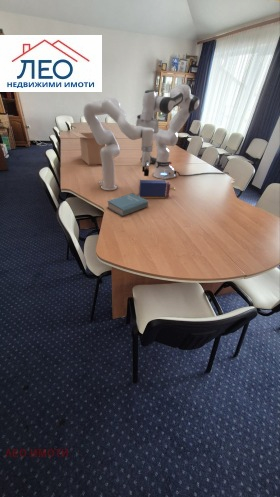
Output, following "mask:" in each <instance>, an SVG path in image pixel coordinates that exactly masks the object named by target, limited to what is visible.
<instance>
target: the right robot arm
mask: <svg viewBox="0 0 280 497" xmlns="http://www.w3.org/2000/svg"><path fill="white" fill-rule="evenodd" d="M200 102H201V100H200V98H199V97H198V96H197V95H195V94H192V93H191V87H190V86H189V84H187V83H184V84H178V85H176V86H174V87H172V88H171V89H170V91H169V96H161V95H158V94H157V93H156V90H155V89H146V90H145V91H144V92H143V96H142V111H141V113H140V114H137V115H136V122H135V125H136V126H142V127H145V128H153V130H154V135H153V142H154V143H155V147H156V158H157V159H156V164H154V171H153V175H152V176H153V177H154V178H156V179H162V180H169V179H173V178H177V175H176V174H178V176H179V177H192V176H199V175H209V174H211V175H212V174H213V175H214V174H215V175H216V174H218V175H224V174H227V175H230V173H229V172H227V171H225V172H202V173H194V174H181V173H180V172H179V171H177V170H176V169H174V168H173V167H172V166H171V165H172V164H173V162H172V161H169V158H170V150H169V149H168V147H174V146H176V145H177V143H178V140H179V136H178V134H179V132H180V131H181V129H182V128H183V127H184V125H185V124H186V122H187V121H188V119H189V118H190V114H193V113H194V112H196V111H197V110H198V108H199V106H200ZM176 107H179V108H180V109H179V110H178V111H177V112H176V113H175V114H174V115H173V117H172V118H171V119H170V121H169V122H168V129H167V130H166V129H162V128H161V129H159V120H158V118H155V113H161V114H165V115H168V114H170V113H171V112H172V110H173V109H174V108H176ZM167 146H168V147H167Z"/></svg>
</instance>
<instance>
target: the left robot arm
mask: <svg viewBox="0 0 280 497" xmlns="http://www.w3.org/2000/svg"><path fill="white" fill-rule="evenodd" d="M103 115H108V117H110V118H111V119H112V120H113V121H114V122H115V123H116V124H117V126H118V128H119V130H120V132H122V134H123V135H125V137H126V138H128V139H129V140H131V141H137V140H139V139H141V150H140V151H141V157H142V161H141V160H140V164H141V166H142V168H141V169H142V170H141V171H142V173H143V176H144V177H149V176H150V175H149V174H150V166H151V164H150V156H152V155H151V154H152V153H151V152H153V148H154V147H153V144H154V140H153V135H154V130H153V128H145V127H142V126H133V125H132V124H131V123H130V122H129V121H128V120H127V118H126V117H127V113H126V111H125V110H124V109H123V108H122V107H121V102H120V101H119V100H118V99H117V98H116V97H106V98H103V100H102V99H101V100H90V101H87V102H85V104H84V106H83V116H84V119H85V121H86V123H87V125H88V127H89V129H90V131H92V133H93V136H94V138H95V140H96V142H97V143H98V144H99V145H105V147H103V148H102V149H101V151H100V155H101V160H102V164H101V169H102V170H101V171H102V180H98V184H99V185H101V186H100V188H101V190H103V191H114V190H117V188H118V186H117V185H116V170H115V168H116V166H115V160H114V159H116V158H117V157H119V156H120V154H121V149H120V146H119V143H118V141H117V139H116V137H115V135H114V133H113V131H112V130H110V129H108V128H107V129H106V128H104V127H103V125H102V123H101V121H100V119H99V118H98V117H97V116H103Z"/></svg>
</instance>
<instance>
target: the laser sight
mask: <svg viewBox="0 0 280 497" xmlns="http://www.w3.org/2000/svg"><path fill="white" fill-rule="evenodd" d="M156 159H157V157H153V156H152V155H150V165H155V164H156ZM139 160H140V162H141V161H142V156H141V157H140V159H139Z"/></svg>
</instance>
